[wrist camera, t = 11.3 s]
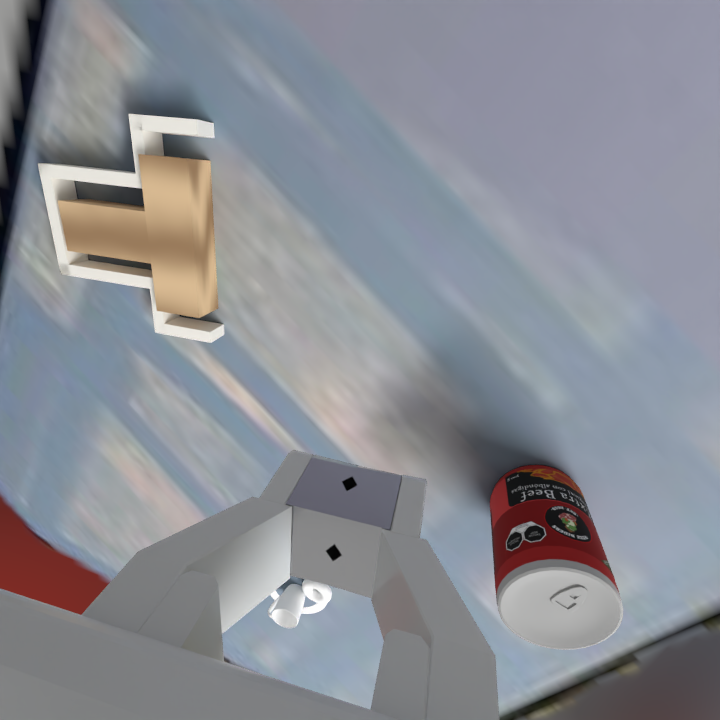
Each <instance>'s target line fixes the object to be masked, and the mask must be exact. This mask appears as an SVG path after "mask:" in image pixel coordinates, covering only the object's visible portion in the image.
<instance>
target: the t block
mask: <svg viewBox="0 0 720 720" xmlns="http://www.w3.org/2000/svg"><path fill="white" fill-rule="evenodd" d="M138 157H139V165H140V174H141V182H142V191H143V199H144V206H140V205H132V204H124V203H116V202H108V201H100V200H92V199H77V200H57V201H58V206H59V211H60V216H61V221H62V226H63V231H64V236H65V241H66V246H67V251H71V252H78V253H85V254H91V255H98V256H104V257H111V258H117V259H124V260H130V261H137V262H144V263H150V264H151V267H152V275H153V284H154V292H155V300H156V309H157V311H161V312H167V313H172V314H178V315H184V316H190V317H195V318H200V317H202V316H204V315H206V314H208V313H210V312H212V311H214V310H216V309H218V295H217V276H216V258H215V240H214V221H213V203H212V184H211V166H210V161H207V160H198V159H188V158H178V157H168V156H156V155H144V154H138Z"/></svg>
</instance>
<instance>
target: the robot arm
mask: <svg viewBox="0 0 720 720" xmlns="http://www.w3.org/2000/svg"><path fill="white" fill-rule="evenodd" d="M426 486H427V481H426V479H421V478H416V477H411V476H406V475H403V477H402V475H398V474H394V473H389V472H385V471H380V470H375V469H371V468H366V467H362V466H358V465H354V464H350V463H346V462H342V461H338V460H334V459H330V458H326V457H322V456H318V455H313V454H308V453H304V452H300V451H296V450H293V451H291V452H290V453H288V455H287V456H286V458H285V459H284V461H283V462H282V464H281V466H280V467H279V469H278V470H277V472H276V473H275V475H274V476H273V478H272V479H271V481H270V482H269V484H268V485H267V487H266V488H265V490H264V491H263V493H262V494H261V496H260V497H259V498H256V497H251V498H249V499H247V500H245V501H242V502H240V503H238V504H236V505H234V506H232V507H230V508H228V509H226V510H224V511H222V512H220V513H217V514H215V515H213V516H211V517H209V518H207V519H205V520H203V521H201V522H199V523H197V524H195V525H192V526H190V527H188V528H186V529H184V530H182V531H180V532H178V533H176V534H174V535H172V536H169V537H167V538H165V539H163V540H161V541H159V542H157V543H155V544H153V545H151V546H149V547H147V548H144V549H142V550H140V551H138V552H137V553H136V554H135V555H134V557H133V558H132V559H131V560H130V561H129V562H128V563H127V564H126V566H125V567H124V568H123V569H122V570H121V571H120V572H119V573H118V574H117V576H116V577H115V578H114V579H113V580H112V581H111V582H110V583H109V585H108V586H107V587H106V588H105V589H104V590H103V591H102V593H101V594H100V595H99V596H98V597H97V598H96V599H95V600H94V602H93V603H92V604H91V605H90V606H89V607H88V608H87V609H86V610H85V612H84V613H83V614H82V615H79V614H76V613H73V612H70V611H67V610H64V609H61V608H58V607H55V606H52V605H48V604H46V603H42V602H39V601H36V600H33V599H30V598H27V597H24V596H21V595H18V594H15V593H12V592H9V591H6V590H3V589H0V720H499V709H498V692H497V676H496V660H495V655H494V653H493V651H492V650H491V648H490V646H489V644H488V643H487V641H486V639H485V638H484V636H483V634H482V633H481V631H480V629H479V627H478V626H477V624H476V622H475V621H474V619H473V617H472V616H471V614H470V612H469V610H468V609H467V607H466V605H465V604H464V602H463V600H462V599H461V597H460V595H459V593H458V592H457V590H456V588H455V587H454V585H453V583H452V582H451V580H450V578H449V576H448V575H447V573H446V571H445V570H444V568H443V566H442V565H441V563H440V561H439V559H438V558H437V556H436V554H435V553H434V551H433V549H432V548H431V546H430V544H429V542H428V541H427V540H424V539H421V538H420V533H421V525H422V517H423V509H424V502H425V494H426ZM290 576H294V577H298V578H302V579H306V580H310V581H314V582H318V583H322V584H326V585H330V586H334V587H337V588H340V589H343V590H346V591H350V592H353V593H356V594H359V595H363V596H366V597H369V598H372V600H371V601H372V604H373V607H374V610H375V614H376V617H377V620H378V623H379V627H380V630H381V633H382V636H383V640H384V644H383V649H382V654H381V659H380V664H379V669H378V674H377V679H376V684H375V690H374V695H373V700H372V705H371V710H369V709H366V708H363V707H360V706H357V705H354V704H351V703H348V702H345V701H342V700H339V699H336V698H333V697H330V696H327V695H324V694H320V693H317V692H314V691H311V690H308V689H305V688H302V687H299V686H296V685H293V684H290V683H287V682H284V681H281V680H278V679H275V678H272V677H268V676H265V675H262V674H259V673H256V672H253V671H250V670H247V669H244V668H241V667H238V666H235V665H232V664H229V663H226V662H224V656H223V642H222V634H223V633H224V632H225V631H226V630H228V629H229V628H230V627H231V626H232V625H234V624H235V623H236V622H237V621H239V620H240V619H241V618H242V617H243V616H245V615H246V614H247V613H248V612H249V611H251V610H252V609H253V608H254V607H256V606H257V605H258V604H259V603H260V602H262V601H263V600H264V599H265V598H267V597H268V596H269V595H270V594H271V593H273V592H274V591H275V590H276V589H278V588H279V587H280V586H281V585H282V584H284V583H285V582H286V581H287V580H288V579H290Z"/></svg>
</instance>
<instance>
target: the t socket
mask: <svg viewBox="0 0 720 720" xmlns="http://www.w3.org/2000/svg"><path fill="white" fill-rule="evenodd" d="M129 123H130V131H131V139H132V147H133V155H134V163H135V171H136V172H129V171H120V170H111V169H102V168H93V167H84V166H75V165H66V164H49V163H38V167H39V172H40V177H41V182H42V186H43V191H44V196H45V201H46V205H47V210H48V215H49V220H50V224H51V229H52V234H53V239H54V243H55V248H56V253H57V258H58V262H59V267H60V272H61V274H63V275H69V276H75V277H81V278H87V279H93V280H99V281H105V282H111V283H117V284H123V285H129V286H136V287H142V288H148V289H150V294H151V302H152V310H153V318H154V326H155V333H160V334H166V335H171V336H177V337H182V338H187V339H193V340H198V341H204V342H209V343H212V342H213V341H215V340H216V339H218V338H220V337H221V336H223V335H224V324H219V323H214V322H208V321H202V320H197V319H191V318H185V317H179V315H178V314H172V313H167V312H161V311H157V309H156V300H155V292H154V284H153V275H152V270H148V269H142V268H135V267H129V266H123V265H116V264H110V263H103V262H97V261H91V260H88V254H85V253H78V252H71V251H67V246H66V241H65V236H64V231H63V226H62V221H61V216H60V211H59V206H58V201H57V200H77V193H76V187H75V182H74V181H82V182H91V183H99V184H107V185H116V186H124V187H133V188H141V189H142V182H141V174H140V165H139V157H138V154H144V155H156V156H164V149H163V139H162V134H172V135H183V136H194V137H205V138H215V137H214V123H210V122H206V121H201V120H197V119H185V118H173V117H161V116H149V115H137V114H129Z"/></svg>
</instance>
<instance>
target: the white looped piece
mask: <svg viewBox="0 0 720 720" xmlns="http://www.w3.org/2000/svg"><path fill="white" fill-rule="evenodd" d="M270 595H271V596H272V598H273V599H274V600H275V601H274V602H273V603H272V605H271V606H270V607H269V609H268V615H269V617H270V618H273V620H274V621H275V622H276V623H277V624H278V625H280V626H282V627H285V628H294V627H296V626H297V624H298V621H299V618H300V615H301V613H303V614H311V613H316V612H319V611H321V610H322V609H323V608H324V607H325V606H326V604H327V602H329V601H330V599H331V595H332V592H331V588H330V587H329V585H326V584H322V583H318V582H314V581H310V580H306V579H305V580H304V581H303V583H302V586H300V585H298V584H290V585H289V586H288V587H287V588H286V589H285V590H284V592H283V593H282V595H280V596H279V595H278V594H277V592H276V591H274V592H273V593H271V594H270ZM305 595H306V596H307V597H308V598H309V599H311V600H312V601H314V602H317V604H315V605H314V606H311V607H303V605H304V601H305ZM274 607H275V608H274ZM273 609H274V610H273ZM272 610H273V612H272V614H270V613H271V611H272Z"/></svg>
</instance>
